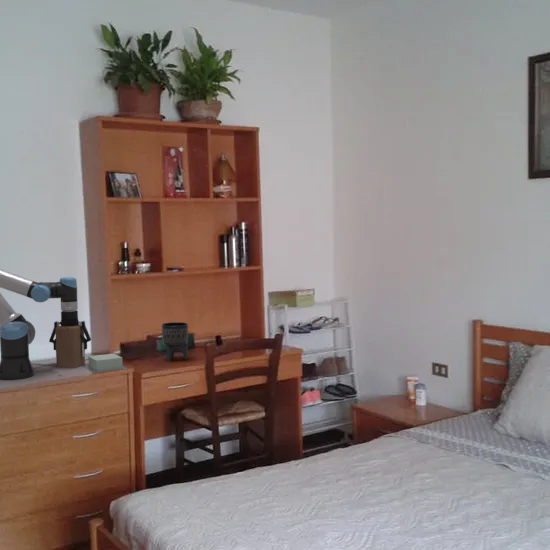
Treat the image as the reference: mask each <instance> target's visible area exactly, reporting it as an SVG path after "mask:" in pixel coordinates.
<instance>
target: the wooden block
mask: <svg viewBox="0 0 550 550" xmlns="http://www.w3.org/2000/svg"><path fill="white" fill-rule="evenodd" d="M55 330H56V334H55V339H56V350H55V358H56V360H55V361H56V368H63V369H77V368H80V367H82V366H84V365H86V356H85V357H83V356H82V343H83V341H82V339H81V338H80V333H81V334H83V335H84V336H85V333H84V331H83V329H82V326H81V325H80V324H78V325H77V326H61V325H59V326H58V327H56V329H55Z"/></svg>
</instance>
